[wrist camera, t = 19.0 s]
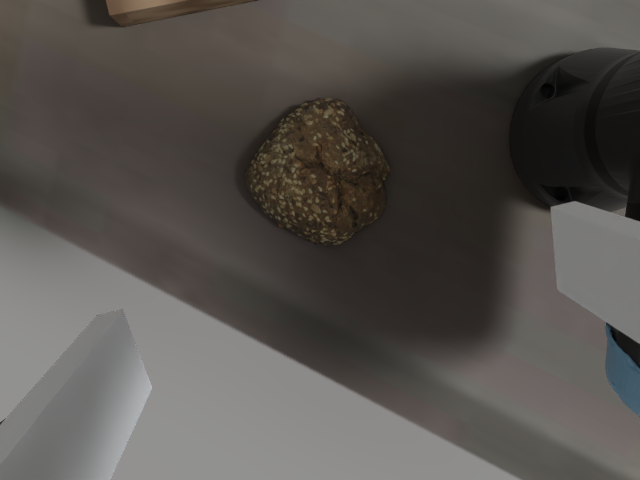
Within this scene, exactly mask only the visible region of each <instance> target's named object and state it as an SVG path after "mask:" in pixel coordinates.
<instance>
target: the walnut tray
mask: <svg viewBox="0 0 640 480" xmlns="http://www.w3.org/2000/svg"><path fill="white" fill-rule="evenodd" d="M252 1H257V0H106V4H107V7H108V11H109V15H110V16H111V17H112V18H113V19H114V20H115V21H116V22H117V23H118V24H119V25H120V26H121V27H126V26H131V25H136V24H141V23H146V22H151V21H156V20H161V19H166V18H171V17H176V16H181V15H186V14H191V13H196V12H201V11H206V10H211V9H216V8H221V7H226V6H232V5H237V4H242V3H247V2H252Z"/></svg>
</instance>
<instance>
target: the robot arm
mask: <svg viewBox="0 0 640 480" xmlns="http://www.w3.org/2000/svg"><path fill="white" fill-rule="evenodd" d="M510 148H511V155H512V159H513V163H514V166H515V169H516V171H517V173H518V175H519V177H520V179H521V180H522V182H523V184H524V185H525V186H526V188H527V189H528V190H529V191H530V192H531V193H532V194H533V195H534V196H535V197H536V198H538V199H539V200H540V201H542V202H543V203H545V204H547V205H548V206H551V219H552V231H553V243H554V255H555V267H556V280H557V290H558V291H560V292H561V293H563V294H564V295H566V296H567V297H569V298H570V299H572V300H573V301H575V302H576V303H578V304H580V305H581V306H583V307H584V308H586V309H587V310H589V311H590V312H592V313H593V314H595V315H596V316H598V317H599V318H601V319H602V320H604V321H605V322H607V323H606V335H607V338H608V342H607V353H606V375H607V378H608V381H609V383H610V385H611V386H612V388H613V389H614V391H615V392H616V393H617V394H618V395H619V397H620V399H621V400H622V401H623V402H624V403H625V404H626V405H627V406H628V407H629V408H630V409H631V410H632V411H633V412H635V413H636V414H637V415H638V416H640V51H638V50H628V49H617V48H595V49H589V50H585V51H581V52H578V53H575V54H573V55H570V56H568V57H566V58H563V59H561V60H559V61H557V62H555V63H553V64H551V65H550V66H548V67H547V68H545V69H544V70H543V71H542V72H540V73H539V74H538V75H537V76H536V77H535V78H534V79H533V80H532V81H531V82H530V84H529V85H528V86H527V88H526V89H525V91H524V92H523V94H522V96H521V97H520V99H519V101H518V103H517V106H516V108H515V111H514V114H513V118H512V123H511V130H510ZM625 207H626V214H625V217H624V216H621V215H617V214H614V213H611V212H612V211H616V210H619V209H622V208H625ZM151 389H152V386H151V383H150V381H149V378H148V375H147V373H146V370H145V368H144V365H143V362H142V359H141V357H140V354H139V351H138V349H137V346H136V343H135V341H134V338H133V336H132V333H131V330H130V328H129V325H128V322H127V319H126V317H125V314H124V312H123V310H122V309H121V310H117V311H113V312H108V313H105V314H100V315H97V316H96V317H95V318H94V319H93V321H92V322H91V323H90V324H89V325H88V326H87V328H86V329H85V330H84V331H83V332H82V333H81V334H80V335H79V336H78V337H77V339H76V340H75V341H74V342H73V343H72V344H71V345H70V347H69V348H68V349H67V350H66V351H65V352H64V353H63V354H62V356H61V357H60V358H59V359H58V360H57V361H56V362H55V363H54V365H53V366H52V367H51V368H50V369H49V370H48V371H47V372H46V374H45V375H44V376H43V377H42V378H41V379H40V381H39V382H38V383H37V384H36V385H35V386H34V387H33V389H32V390H31V391H30V392H29V393H28V394H27V395H26V396H25V397H24V399H23V400H22V401H21V402H20V403H19V404H18V405H17V406H16V408H15V409H14V410H13V411H12V412H11V413H10V414H9V415H8V417H7V418H5V419H4V420H3V421H2V422H0V480H110V479H111V477H112V475H113V473H114V470H115V468H116V466H117V464H118V462H119V459H120V457H121V455H122V453H123V451H124V448H125V446H126V444H127V442H128V440H129V438H130V435H131V433H132V431H133V429H134V427H135V424H136V422H137V420H138V418H139V416H140V414H141V411H142V409H143V407H144V405H145V403H146V400H147V398H148V396H149V394H150V392H151Z"/></svg>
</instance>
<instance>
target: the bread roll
mask: <svg viewBox="0 0 640 480" xmlns="http://www.w3.org/2000/svg"><path fill="white" fill-rule="evenodd" d="M390 172H391V170H390V169H389V167H388V163H387V162H386V160H385V158H384V156H383V153H382V152H381V150H380V147H379V145H378V144H377V143H376V142H375V141H374V140H373V139H372V137H370V136H368V135H367V134H366V133H365V132H364V131H363V129H362V128H361V126H360V125H359V122H358V120H357V118H356V117H355V115H354V113H353V111H352V109H351V108H349V107H348V106H347V105H346V104H345V103H344V102H342V101H341V100H338V99H335V100H333V99H331V98H324V99H320V98H317V99H316V101H314V102H308V103H303V104H301V105H300V107H299V108H298V109H296V110H295V111H294V112H292V113H291V114H289V115H287V116H286V117H285V118H283V119H282V120H281V122H280V124H279V125H278V126H277V127H276V128H275V129H274V130H272V132H271V134H270V136H269V137H268V138H267V140H266V141H265V142H264V143H263V145H262V146H261V148H260V149H259V151H258V153H256V155H255V157H254V159H253V160H252V161H251V163H250V165H249V166H248V168H247V169H246V171H245V182H246V186H247V188H248V190H249V192H250V194H251V195H252V197H253V198H254V200H255V202H256V203H257V204H258V206H259V207H260V208H261V209H263V210H264V212H265V213H266V214H268V215H269V216H270V218H272V219H274V220H275V221H277V223H278V226H279V227H281V228H284V227H286V228H288V229H290V230H291V231H292V232H295V233H297V234H298V235H299V236H302V237H303V238H305V239H307V240H309V241H311V242H313V243H314V244H316V243H320V244H323V245H327V244H332V245H339V244H342V243H343V242H344V241H346V240H348V239H350V238H351V236H352V234H354V233H355V232H356V231H358V230H361V228H362V227H363V226H365V225H368V224H371V223H373V222H374V221H376V220H377V219H378V218H379V217H380V216H381V214H382V211H383V209H384V208H385V201H386V195H385V189H384V187H383V182H382V181H383V180H385V177H386V175H387V174H389V173H390Z"/></svg>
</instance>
